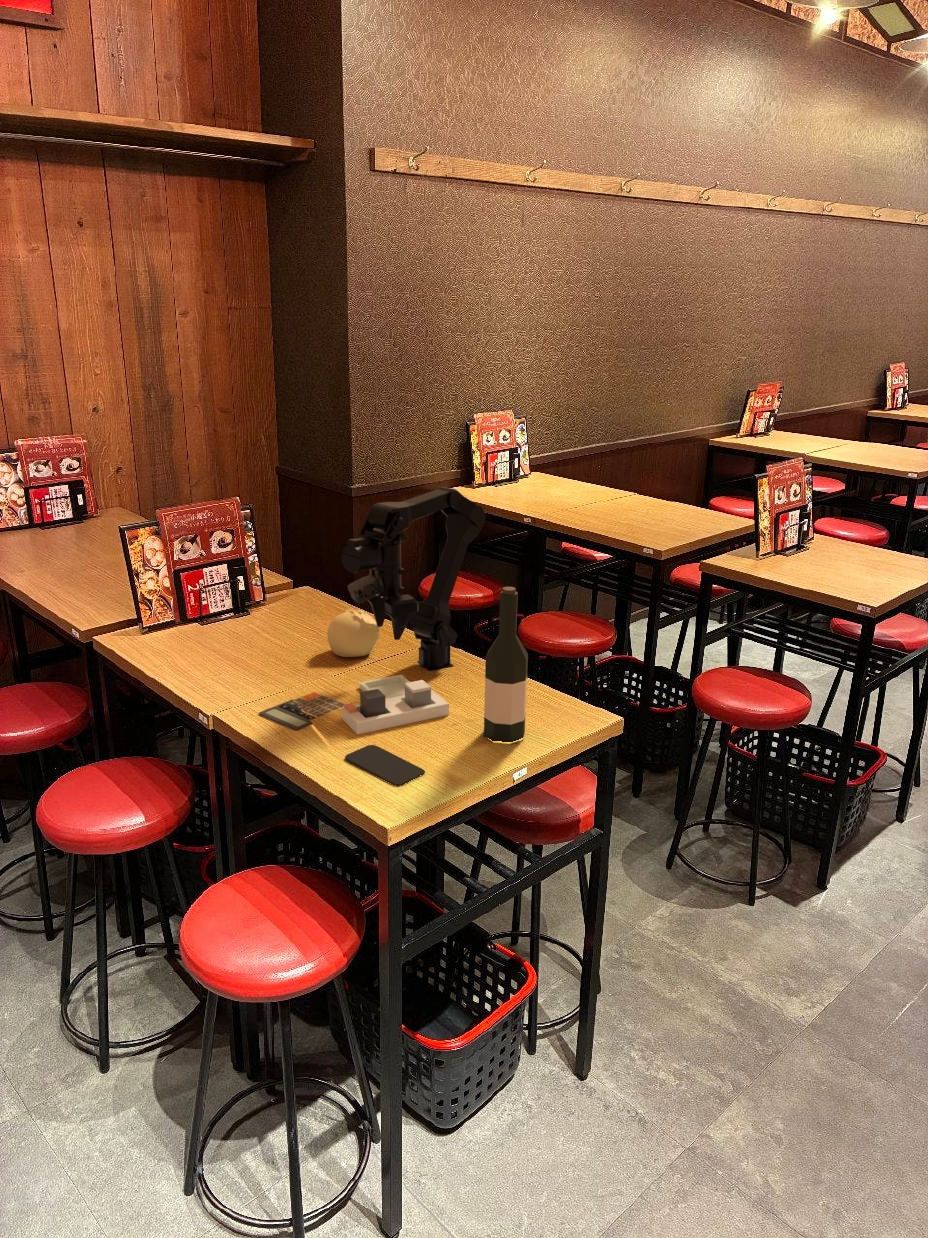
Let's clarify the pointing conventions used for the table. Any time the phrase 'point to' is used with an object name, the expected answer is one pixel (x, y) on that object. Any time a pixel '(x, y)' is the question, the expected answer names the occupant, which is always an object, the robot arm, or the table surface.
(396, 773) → the phone
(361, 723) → the power strip
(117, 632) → the table surface
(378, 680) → the tray
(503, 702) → the wine bottle
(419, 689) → the plug
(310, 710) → the calculator
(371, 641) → the beige round lump
